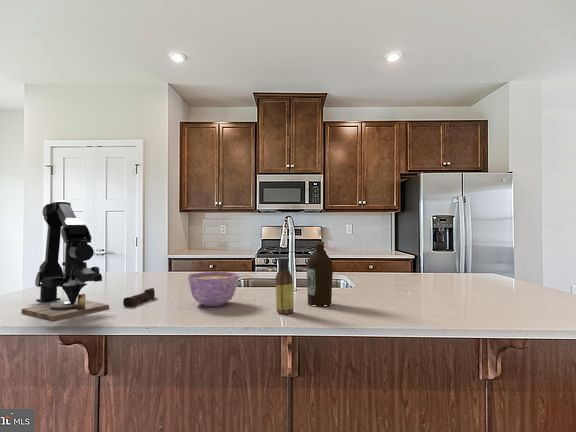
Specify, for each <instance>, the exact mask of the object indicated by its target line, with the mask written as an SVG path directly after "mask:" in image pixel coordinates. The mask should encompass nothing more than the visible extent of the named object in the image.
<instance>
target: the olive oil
mask: <svg viewBox="0 0 576 432" xmlns="http://www.w3.org/2000/svg"><path fill="white" fill-rule="evenodd" d="M324 244H325V243H324V241H316V242H315V250H314V251H315V252H314V253H313V254H311V256H310V257H309V258H308V259H307V261H306V262H307V263H306V268H305V269H306V285H307V286H306V289H307V304H310V305H316V306H324V305H330V304H331V305H332V300H333V299H332V296H333V295H332V293H333V273H334V264H333V261H332V258H330V256H329V255H328V254H327V252H325V245H324ZM310 305H309V306H310ZM331 305H330V306H331Z"/></svg>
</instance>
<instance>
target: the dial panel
mask: <svg viewBox="0 0 576 432" xmlns="http://www.w3.org/2000/svg"><path fill="white" fill-rule="evenodd" d="M108 309H109V310H110V304H107V303H102V302H97V301H92V300H86V299H85V308H84V309H77V308H76V307H75V308H69V309H51V308H50V303H46V304H41V305H35V306H29V307H24V308H21V314H24V313H25V314H24V315H28V316H32V317H36V318H40V319H43V320H48V321H51V322H52V321H57V320H63V319H66V318H71V317H76V316H80V315H85V314H90V313H95V312H100V311H104V310H108Z"/></svg>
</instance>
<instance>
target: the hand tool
mask: <svg viewBox="0 0 576 432" xmlns="http://www.w3.org/2000/svg"><path fill="white" fill-rule="evenodd" d="M155 295H156V294H155V288H154V287H150V288H146V289H145V290H144V291H143V292H141V293H138V294H134V295H131V296H128V297H127V296H126V297H124V298H123V303H122V305H123V307H125V308H132V307H134V306H135V305H137V304H139V303H142V302H144V301H152V300H153V299H154V298H155Z"/></svg>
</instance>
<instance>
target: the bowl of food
mask: <svg viewBox="0 0 576 432" xmlns="http://www.w3.org/2000/svg"><path fill="white" fill-rule="evenodd" d="M239 276H240V274H238V273H236V272H227V271H205V272H203V271H202V272H196V273H191V274H189V275H187V279H188V283H189V288H190V292H191V295H192V298H193V299H194V301H195V302H197V303H199V304H202V305H203V306H204V307H209V306H214V307H220V305H221V306H224V304H226V303H228V302H229V301H231V300H232V299H233V297H234V295H235V292H236V290H237V286H238V280H239Z"/></svg>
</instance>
